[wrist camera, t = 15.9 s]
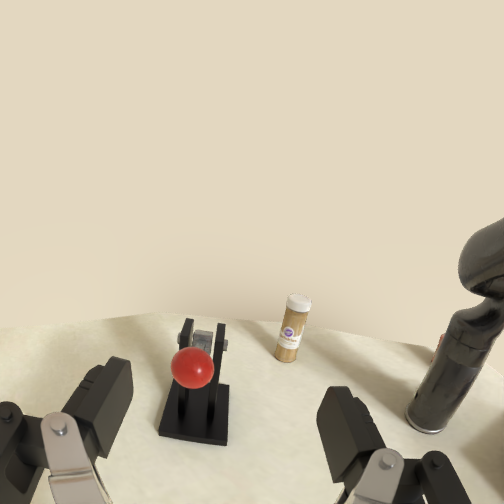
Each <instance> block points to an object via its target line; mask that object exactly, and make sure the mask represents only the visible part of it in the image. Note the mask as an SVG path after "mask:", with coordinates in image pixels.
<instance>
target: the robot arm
mask: <svg viewBox="0 0 504 504" xmlns="http://www.w3.org/2000/svg"><path fill="white" fill-rule="evenodd" d="M458 273H459V278H460V281H461V283H462V285H463V286H464V288H466V289H467V290H468V291H470V292H472V293H474V294H477V295H480V296H483V297H486V298H485V300H484V301H483V302H482V303H481V304H479V305H477V306H475V307H473V308H469V309H463V310H459V311H457V312H455V313H454V315H453V316H452V318H451V321H450V323H449V326H448V328H447V331H446V333H445V335H444V338H443V340H442V342H441V345H440V347H439V349H438V351H437V353H436V356H435V358H434V360H433V362H432V364H431V366H430V368H429V370H428V372H427V374H426V375H425V377H424V379H423V381H422V383H421V385H420V386H419V388H417V389H418V390H416V391H415V394H414V397H413V399H412V400H411V402H410V403H409V404H408V406H407V408H406V410H405V415H406V418H407V420H408V422H409V423H410V424H411V425H412V426H413V427H414V428H415V429H417V430H419V431H421V432H423V433H427V434H436V433H439V432H441V431H442V430H443V429H444V428H445V427H446V425H447V423H448V422H449V420H450V419H451V418H452V416H453V415H454V413H455V412H456V410H457V409H458V407H459V406H460V404H461V403H462V401H463V400H464V398H465V397H466V395H467V393H468V392H469V390H470V388H471V387H472V385H473V383H474V381H475V380H476V378H477V376H478V374H479V372H480V371H481V369H482V367H483V365H484V363H485V361H486V359H487V357H488V355H489V353H490V351H491V349H492V347H493V345H494V343H495V341H496V339H497V338H498V337H499V335H500V334H501V333H502V331H503V329H504V218H502V219H501V220H499V221H497V222H495V223H493V224H491V225H489V226H487V227H485V228H483V229H481V230H479V231H477V232H476V233H474V234H473V235H472V236H471V238H470V239H469V240H468V241H467V243H466V244H465V246H464V248H463V250H462V252H461V255H460V259H459V265H458ZM132 397H133V380H132V371H131V363H130V361H129V360H125V359H121V358H118V357H114V356H112V357H111V358H110V359H109V360H108V362H107V363H106V365H105V366H102V365H97V366H96V367H94V368H92V369H91V370H89V371H88V373H87V374H86V376H85V377H84V378H83V380H82V381H81V383H80V384H79V387H77V389H76V390H75V391H74V393H73V394H72V396H71V397H70V399H69V400H68V402H67V403H66V405H65V406H64V408H63V409H62V411H61V412H53V413H50V414H48V415H46V416H45V417H44V418H38V417H33V416H28V415H23V413H22V411H21V409H20V408H19V406H17V405H16V404H15V403H12V402H7V401H6V402H1V403H0V504H30V502H31V500H32V497H33V494H34V492H35V489H36V487H37V484H38V482H39V480H40V477H41V475H42V473H43V470H44V468H47V469H50V472H51V476H49V477H48V480H49V485H50V488H51V491H52V494H53V498H54V500H55V503H56V504H113V502H112V500H111V498H110V496H109V494H108V492H107V490H106V488H105V486H104V484H103V482H102V479H101V477H100V475H99V472H98V470H97V468H96V465H95V461H96V459H97V456H100V457H103V458H106V459H107V457H108V454H109V452H110V449H111V447H112V445H113V442H114V440H115V438H116V435H117V433H118V430H119V428H120V426H121V423H122V421H123V419H124V417H125V414H126V412H127V410H128V408H129V405H130V403H131V401H132ZM316 421H317V426H318V430H319V433H320V437H321V440H322V444H323V448H324V451H325V455H326V458H327V462H328V465H329V469H330V473H331V476H332V480H333V483H339V482H344V486H345V487H344V488H343V489H342V491H341V493H340V494H339V496H338V498H337V499H336V501H335V503H334V504H425V502H424V499H423V496H422V495H423V494H425V497H426V499H427V502H428V504H471V501H470V499H469V497H468V495H467V493H466V491H465V489H464V487H463V485H462V483H461V481H460V479H459V477H458V475H457V473H456V472H455V470H454V468H453V466H452V464H451V462H450V460H449V459H448V457H447V456H446V455H445V454H444V453H442V452H439V451H430V452H427V453H426V454H425V455H424V456H423V457H422V458H421V459H404V458H403V457H402V456H401V455H400V454H399V453H398V452H397V451H395V450H393V449H389V448H387V447H386V446H385V443H384V441H383V439H382V437H381V435H380V433H379V431H378V429H377V427H376V425H375V423H373V419H372V417H371V416H370V413H369V411H368V409H367V407H366V405H365V404H364V403H363V402H362V401H361V400H360V399H359V398H358V397H355V398H353V396H352V394H351V392H350V390H349V388H348V387H347V386H330V387H329V388H328V389H327V391H326V394H325V396H324V398H323V400H322V403H321V405H320V407H319V409H318V412H317V418H316Z"/></svg>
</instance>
